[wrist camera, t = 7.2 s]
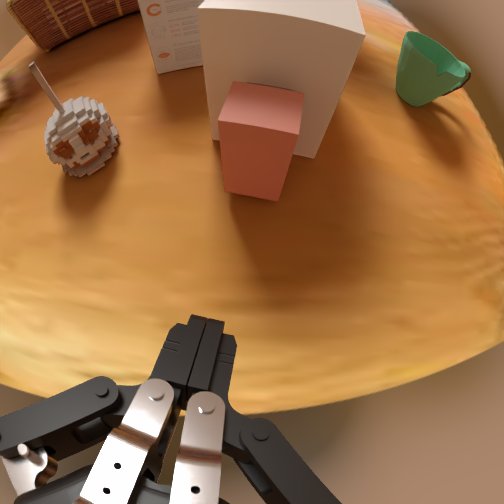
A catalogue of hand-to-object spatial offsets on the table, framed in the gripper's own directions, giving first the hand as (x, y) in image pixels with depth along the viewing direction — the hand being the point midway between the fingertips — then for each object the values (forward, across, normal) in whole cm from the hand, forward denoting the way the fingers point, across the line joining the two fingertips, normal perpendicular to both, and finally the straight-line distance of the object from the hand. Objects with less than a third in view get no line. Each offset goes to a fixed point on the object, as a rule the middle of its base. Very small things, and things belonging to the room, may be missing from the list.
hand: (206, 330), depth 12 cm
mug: (+35, -22, -18) cm, 45 cm away
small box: (+32, +14, -15) cm, 38 cm away
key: (+21, 0, -6) cm, 22 cm away
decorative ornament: (+19, +20, -2) cm, 28 cm away
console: (+26, 0, -10) cm, 28 cm away
